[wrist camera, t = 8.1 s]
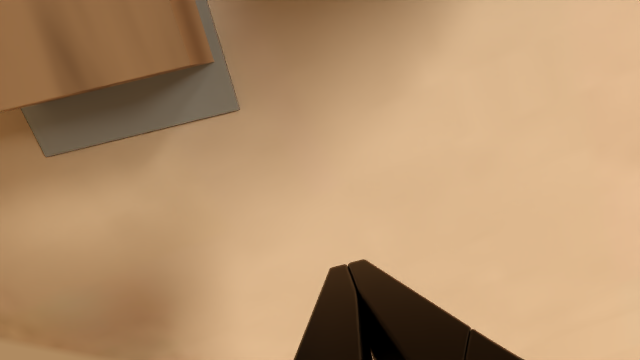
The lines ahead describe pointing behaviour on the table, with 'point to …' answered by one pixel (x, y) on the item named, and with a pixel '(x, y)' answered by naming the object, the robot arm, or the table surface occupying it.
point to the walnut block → (93, 45)
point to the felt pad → (137, 103)
